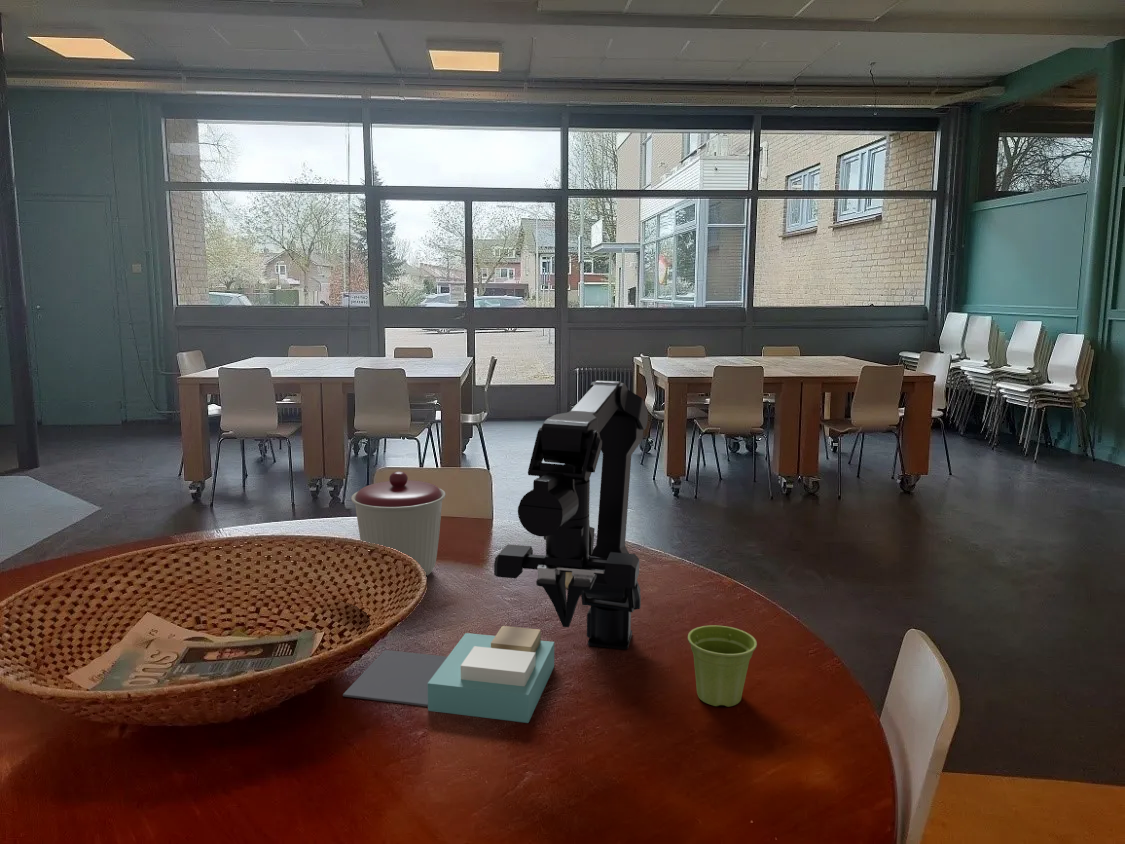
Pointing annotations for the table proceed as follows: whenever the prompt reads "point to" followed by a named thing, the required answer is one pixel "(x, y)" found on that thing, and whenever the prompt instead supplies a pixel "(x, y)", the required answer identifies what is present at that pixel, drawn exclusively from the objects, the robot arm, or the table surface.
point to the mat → (397, 678)
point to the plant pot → (721, 662)
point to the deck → (487, 685)
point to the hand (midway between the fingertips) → (566, 626)
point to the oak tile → (517, 639)
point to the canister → (401, 517)
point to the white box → (498, 666)
